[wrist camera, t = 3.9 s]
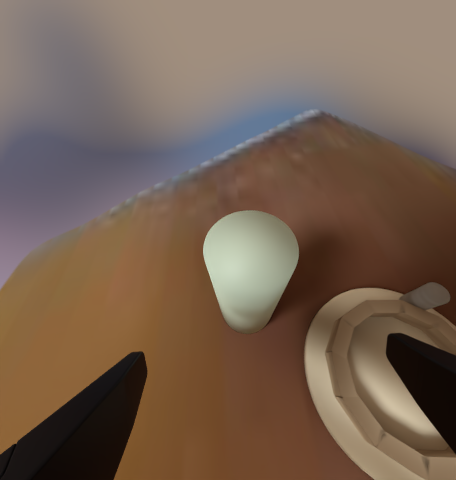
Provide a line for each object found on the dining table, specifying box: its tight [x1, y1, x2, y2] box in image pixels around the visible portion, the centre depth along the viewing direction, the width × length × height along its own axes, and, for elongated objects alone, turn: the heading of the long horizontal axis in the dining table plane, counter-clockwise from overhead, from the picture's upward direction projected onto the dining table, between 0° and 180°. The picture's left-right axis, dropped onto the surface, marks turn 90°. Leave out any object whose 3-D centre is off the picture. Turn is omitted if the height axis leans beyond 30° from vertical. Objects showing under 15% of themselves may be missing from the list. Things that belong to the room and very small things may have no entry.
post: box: [203, 210, 299, 334], centre depth 15 cm, size 5×5×11 cm
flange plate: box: [304, 282, 456, 480], centre depth 14 cm, size 13×13×4 cm
